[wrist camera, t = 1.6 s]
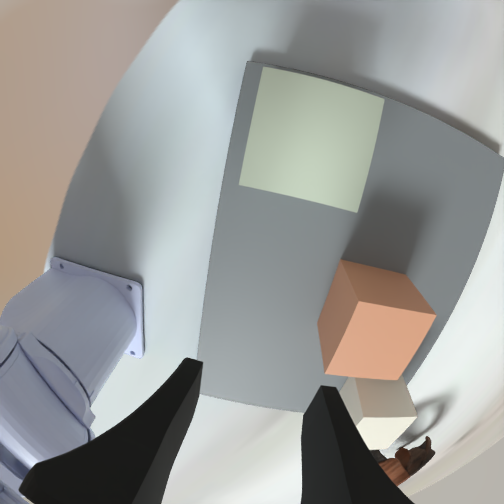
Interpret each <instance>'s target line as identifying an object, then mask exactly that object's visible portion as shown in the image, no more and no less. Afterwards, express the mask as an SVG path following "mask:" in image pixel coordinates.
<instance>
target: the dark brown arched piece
mask: <svg viewBox="0 0 504 504" xmlns="http://www.w3.org/2000/svg"><path fill="white" fill-rule="evenodd" d="M370 452H371V453H372V455H373V456H374V458H375V459H376V461H377V462H378V464H379V465H380V466H381V468H382V469H383V470H384V472H385V473H386V474H387V475H388V477H389V478H390V479H391V480H392V482H393V483H394V484H395V485H396V486H398V485H399V484H401V483H403V482H404V481H406V480H407V479H408V478H410V477H411V476H412V475H414V474H415V473H416V472H417V471H419V470H420V469H421V468H422V467H423V466H424V465H425V464H426V463H427V462H428V461H429V460H431V458H432V457H433V456H434V455H435V451H434V450H432V449H431V440H430V438H429V437H428V436H426V441H425V442H424V443H423V444H422V445H420V446H418V447H415V448H412V449H410V450H408V449H405V448H403V447H401V448H400V449H399V450H398V451H397V452H396V453H395V458H389V459H387V458H386V457H385V456H383V455H382V454H381V453H380V451H379V449H378V450H370ZM397 459H398V460H397Z"/></svg>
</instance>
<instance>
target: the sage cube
mask: <svg viewBox="0 0 504 504" xmlns="http://www.w3.org/2000/svg"><path fill="white" fill-rule="evenodd" d="M384 100H385V99H383V98H380V97H377V96H374V95H372V94H369V93H366V92H363V91H360V90H357V89H354V88H351V87H347V86H344V85H341V84H337V83H334V82H330V81H327V80H323V79H319V78H315V77H311V76H307V75H303V74H299V73H294V72H290V71H285V70H280V69H274V68H269V67H263V70H262V74H261V79H260V83H259V88H258V93H257V97H256V102H255V107H254V111H253V116H252V121H251V126H250V130H249V135H248V140H247V145H246V150H245V155H244V160H243V165H242V170H241V175H240V181H239V185H242V186H246V187H251V188H256V189H261V190H265V191H270V192H275V193H279V194H283V195H288V196H292V197H296V198H301V199H305V200H309V201H313V202H317V203H321V204H325V205H329V206H333V207H337V208H340V209H344V210H348V211H352V212H355V213H357V212H358V209H359V205H360V202H361V198H362V194H363V191H364V187H365V183H366V180H367V176H368V172H369V168H370V164H371V160H372V156H373V152H374V148H375V143H376V139H377V134H378V130H379V125H380V120H381V115H382V110H383V105H384Z"/></svg>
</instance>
